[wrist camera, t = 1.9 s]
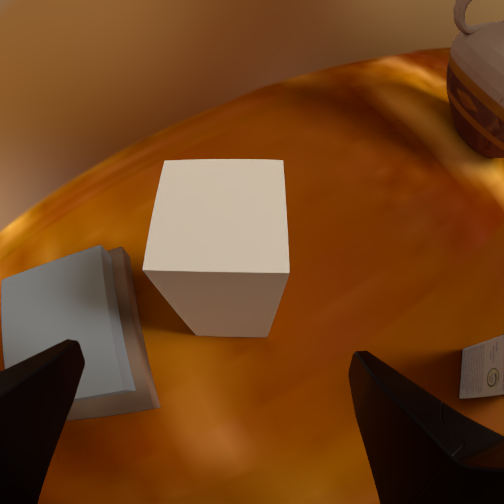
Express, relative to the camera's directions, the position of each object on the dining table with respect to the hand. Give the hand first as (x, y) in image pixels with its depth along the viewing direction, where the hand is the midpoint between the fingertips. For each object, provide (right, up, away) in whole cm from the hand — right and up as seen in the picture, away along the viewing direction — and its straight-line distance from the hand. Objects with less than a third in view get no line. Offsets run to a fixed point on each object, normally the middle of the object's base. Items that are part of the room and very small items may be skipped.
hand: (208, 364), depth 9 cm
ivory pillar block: (0, 0, +13) cm, 13 cm away
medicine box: (+22, -7, +10) cm, 26 cm away
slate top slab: (-12, -3, +10) cm, 16 cm away
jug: (+33, +20, +24) cm, 45 cm away
